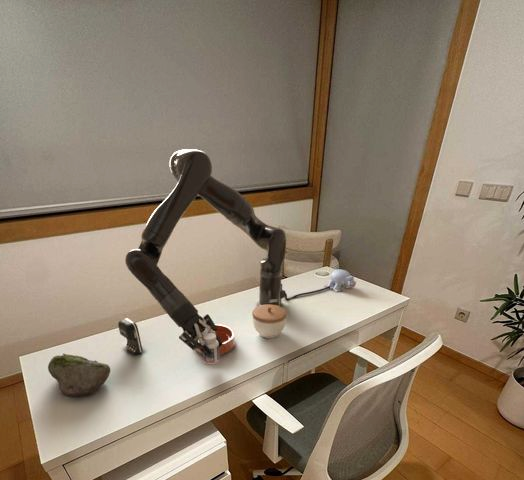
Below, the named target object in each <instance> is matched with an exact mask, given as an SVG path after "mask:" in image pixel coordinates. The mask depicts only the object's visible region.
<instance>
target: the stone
mask: <svg viewBox="0 0 524 480" xmlns="http://www.w3.org/2000/svg"><path fill="white" fill-rule="evenodd" d="M47 370H48V373H49V374H50V375H51V377H52V378H53V379H54V380H55V381H56V382H57V383H58V388H59V391H60V394H62V395H63V396H66V397H70V398H71V397H84V396H89V395H91V394H94V393H95V392H96V391H97V390H98V389H99V388H100V387H101V386H102V385H104V384H105V382H106V381H107V379H108V377H109V376H110V373H111V366H110V365H108V364H107V363H103V362H99V361H97V360H92V359H91V360H89V359H88V358H86V357H84V356H80V355H73V354H67V353H62V355H55V356H53V357H52V358H51V359H50V361H49V363H48V365H47Z"/></svg>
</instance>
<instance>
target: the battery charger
mask: <svg viewBox="0 0 524 480" xmlns="http://www.w3.org/2000/svg"><path fill="white" fill-rule="evenodd" d="M117 324H118V325H117V326H118V331H119V334H120V336H122V337H124V338H125V339H126V346H125V349H126V350H127V351H129V352H130V353H132V354H133V355H138V354H142V353H143V351H144V350H143V345H142V341H141V336H140V331H139V328H138V325H137V323H136V322H134V321H133V320H132V319H130V318H129V317H127V318H124V319H121V320H119V321H118V323H117Z"/></svg>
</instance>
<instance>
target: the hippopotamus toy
mask: <svg viewBox="0 0 524 480" xmlns="http://www.w3.org/2000/svg"><path fill="white" fill-rule="evenodd" d="M332 268H333V271H332V272H331V274H330V279H329V281H328V284H327V286H326V287H329V286H331V287H330V288H329V289H331V290H333V291H334V292H340V291H341V287H342V286H343V288H345V289H350V288H355V287H356V285H357V281H356V280H354V279H355V276H354V275H352V276H351V273H350V272H349V271H347V270H345V269H339V268H338V269H337V267H336V266H335V265H332ZM335 283H336V284H335ZM334 285H335V286H334Z"/></svg>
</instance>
